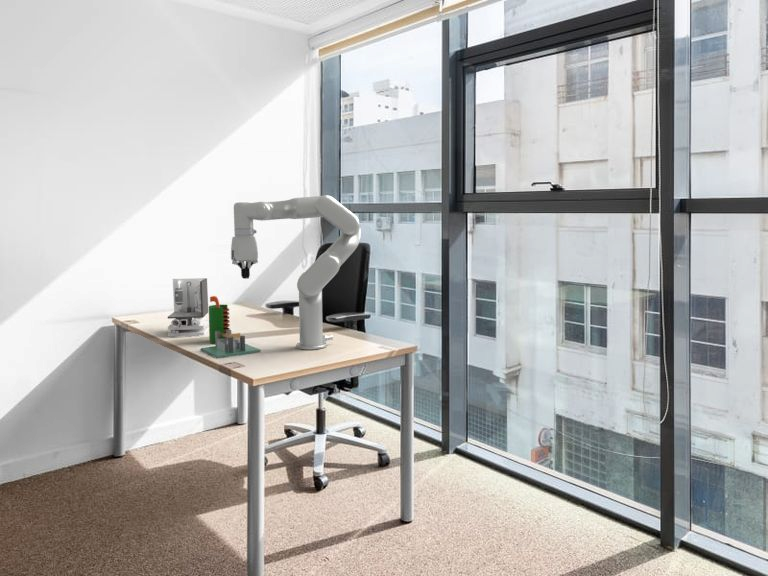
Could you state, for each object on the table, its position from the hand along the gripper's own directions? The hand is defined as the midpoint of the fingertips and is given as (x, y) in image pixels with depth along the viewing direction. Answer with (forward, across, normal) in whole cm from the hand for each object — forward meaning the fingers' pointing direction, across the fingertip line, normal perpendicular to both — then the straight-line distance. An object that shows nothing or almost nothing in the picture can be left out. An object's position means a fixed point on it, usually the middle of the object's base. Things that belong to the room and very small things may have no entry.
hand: (245, 278), depth 248 cm
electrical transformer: (+29, +8, -48) cm, 57 cm away
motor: (+29, +4, -20) cm, 36 cm away
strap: (+23, +8, +1) cm, 25 cm away
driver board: (+29, +8, +1) cm, 30 cm away
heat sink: (+28, +8, -1) cm, 29 cm away
